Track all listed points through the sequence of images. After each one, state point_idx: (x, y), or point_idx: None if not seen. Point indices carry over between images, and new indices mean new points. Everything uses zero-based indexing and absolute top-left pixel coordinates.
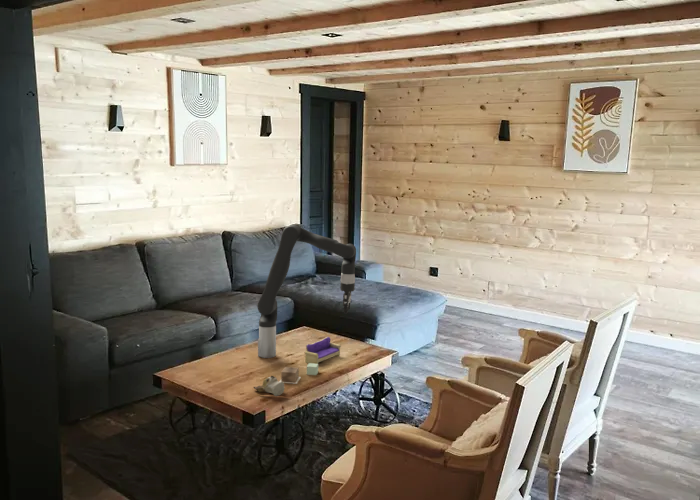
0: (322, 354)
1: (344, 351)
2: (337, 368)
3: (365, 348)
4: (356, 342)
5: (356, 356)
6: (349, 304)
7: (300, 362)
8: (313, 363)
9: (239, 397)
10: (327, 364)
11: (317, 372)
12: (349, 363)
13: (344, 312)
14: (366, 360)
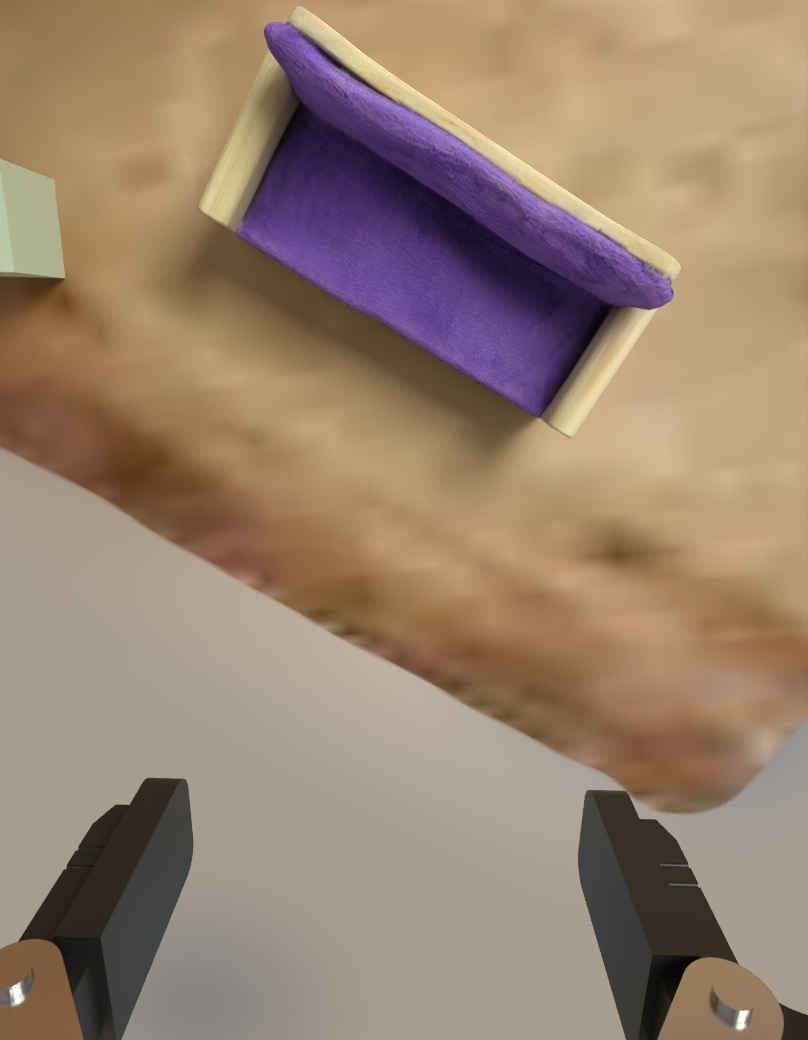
0: (334, 264)
1: (689, 440)
2: (223, 435)
3: (784, 616)
4: None
5: (558, 560)
6: (620, 993)
7: None
8: (4, 215)
9: None
10: (302, 330)
11: (19, 276)
12: (368, 521)
13: (111, 816)
14: (467, 647)
